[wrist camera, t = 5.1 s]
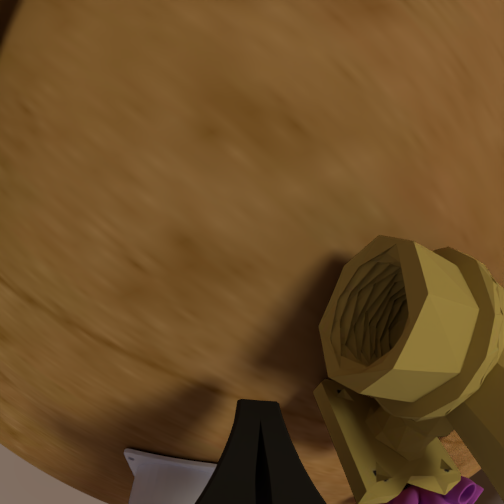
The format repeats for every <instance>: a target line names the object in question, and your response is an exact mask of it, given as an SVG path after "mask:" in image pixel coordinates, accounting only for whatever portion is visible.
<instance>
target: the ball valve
mask: <svg viewBox="0 0 504 504" xmlns="http://www.w3.org/2000/svg"><path fill="white" fill-rule="evenodd" d="M318 327H319V332H320V337H321V342H322V347H323V353H324V358H325V363H326V369H327V374H328V377H329V378H331V379H333V380H335V381H333V380H328V379H324V380H323V381H322V382H321V383H320V384H319V385H318V386H317V387H316V389H315V390H314V391H313V394H314V397H315V399H316V402H317V404H318V407H319V409H320V412H321V414H322V417H323V419H324V422H325V424H326V427H327V429H328V432H329V434H330V437H331V439H332V442H333V444H334V447H335V449H336V452H337V454H338V457H339V459H340V462H341V464H342V467H343V470H344V472H345V475H346V477H347V480H348V482H349V485H350V487H351V490H352V492H353V495H354V497H355V500H356V503H357V504H379V503H387V502H389V501H390V500H392V499H393V498H395V497H396V496H398V495H399V494H400V493H401V491H402V490H403V488H404V487H405V485H406V483H409V484H412V485H415V486H418V487H421V488H424V489H427V490H430V491H433V492H436V493H439V494H442V495H446V494H447V493H448V492H449V491H450V490H451V489H452V488H453V487H454V486H455V485H456V484H457V483H458V482H459V481H460V480H461V473H460V471H459V470H458V468H457V467H456V465H455V463H454V462H453V460H452V459H451V457H450V456H449V454H448V452H447V451H446V449H445V448H444V446H443V445H442V443H441V442H440V440H439V439H438V437H442V436H448V435H449V434H450V433H451V432H452V431H453V430H454V429H455V431H456V432H457V433H458V435H459V436H460V438H461V439H462V440H463V442H464V443H465V445H466V446H467V448H468V449H469V450H470V452H471V453H472V455H473V456H474V458H475V459H476V461H477V462H478V464H479V465H480V466H481V468H482V469H483V471H484V472H485V474H486V475H487V477H488V478H489V480H490V481H491V483H492V484H493V486H494V488H495V489H496V491H497V492H498V494H499V495H500V497H501V498H502V500H503V501H504V288H503V287H501V286H500V285H499V284H498V283H497V282H496V281H495V280H494V278H493V277H492V275H491V274H490V272H489V271H488V269H487V268H486V266H485V265H484V264H483V263H481V262H480V261H478V260H476V259H475V258H473V257H472V256H470V255H468V254H465V253H463V252H460V251H458V250H455V249H453V248H450V247H446V248H442V249H438V250H434V251H430V250H429V249H427V248H425V247H423V246H421V245H420V244H418V243H416V242H414V241H410V240H404V239H399V238H394V237H388V236H382V235H378V236H377V237H376V238H375V239H374V240H373V241H372V242H371V243H369V244H368V245H367V246H366V247H365V248H364V249H363V250H362V251H360V252H359V253H358V254H357V255H356V256H355V257H353V258H352V259H351V260H350V261H349V262H348V263H346V264H345V265H344V267H343V269H342V272H341V274H340V277H339V279H338V282H337V284H336V287H335V289H334V291H333V294H332V296H331V298H330V301H329V303H328V305H327V308H326V310H325V312H324V315H323V317H322V319H321V321H320V324H319V326H318ZM363 394H364V395H363ZM365 395H370V396H373V397H374V398H375V399H374V398H371V397H368V396H365Z"/></svg>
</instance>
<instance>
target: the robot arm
mask: <svg viewBox="0 0 504 504" xmlns="http://www.w3.org/2000/svg"><path fill="white" fill-rule="evenodd" d="M124 455H125V458H126V460H127V462H128V464H129V466H130V468H131V470H132V472H133V475H134V477H135V478H134V482H133V486H132V490H131V494H130V498H129V502H128V504H326V502H325V501H324V499H323V498H322V496H321V495H320V493H319V492H318V491H317V489H316V487H315V486H314V484H313V482H312V481H311V479H310V477H309V476H308V474H307V472H306V470H305V468H304V466H303V465H302V463H301V461H300V459H299V456H298V454H297V452H296V450H295V448H294V446H293V443H292V441H291V439H290V436H289V434H288V431H287V428H286V426H285V423H284V420H283V417H282V413H281V410H280V406H279V403H277V402H274V401H259V400H247V399H240V400H238V401H237V407H236V413H235V419H234V423H233V427H232V430H231V433H230V436H229V438H228V441H227V443H226V446H225V449H224V451H223V453H222V455H221V458H220V460H219V462H218V464H214V463H206V462H198V461H191V460H184V459H178V458H172V457H166V456H161V455H156V454H151V453H146V452H142V451H138V450H133V449H128V448H127V449H125V450H124Z"/></svg>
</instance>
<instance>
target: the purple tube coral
mask: <svg viewBox="0 0 504 504" xmlns="http://www.w3.org/2000/svg"><path fill="white" fill-rule="evenodd" d="M483 490H484V489H483V488H482V487H480V486H478V485H477V484H475V483H474V482H473V481H471V480H470V479H468V478H466V477H463V476H461V480H460V481H459V482H458V483H457V484H456V485H455V486H454V487H453V488H452V489H451V490H450V491H449V492H448V493H447V494H446V495H442V494H439V493H436V492H433V491H430V490H427V489H424V488H421V487H418V486H415V485H411V486H409V487H408V488H406V489H404V490H403V491H401V493H400V494H399V495H398V496H396V497H395V498H393V499H392V500H390V501H389V502H387V503H380V504H466V503H469V504H474V502H475V501H476V500H477V498H478V497H479V496H480V494H481V493H482V491H483Z"/></svg>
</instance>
